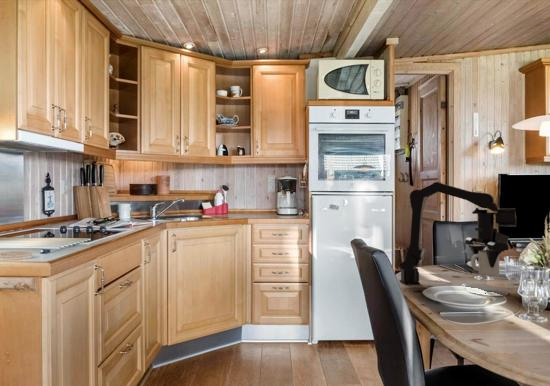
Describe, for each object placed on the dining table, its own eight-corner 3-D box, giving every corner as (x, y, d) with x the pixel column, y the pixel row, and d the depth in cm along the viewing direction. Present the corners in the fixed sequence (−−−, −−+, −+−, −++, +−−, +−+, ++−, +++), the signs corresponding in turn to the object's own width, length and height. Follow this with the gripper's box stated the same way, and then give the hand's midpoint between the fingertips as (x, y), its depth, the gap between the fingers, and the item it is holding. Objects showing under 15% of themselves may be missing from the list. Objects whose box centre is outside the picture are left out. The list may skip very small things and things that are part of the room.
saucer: (480, 298, 152) (480, 294, 152) (457, 288, 167) (457, 285, 167) (517, 296, 154) (517, 293, 154) (491, 286, 169) (491, 284, 169)
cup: (501, 276, 156) (501, 253, 156) (472, 275, 159) (472, 252, 159) (496, 273, 163) (496, 250, 163) (469, 272, 166) (469, 249, 166)
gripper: (522, 227, 152) (522, 269, 152) (489, 223, 170) (489, 260, 170) (494, 228, 150) (494, 270, 151) (464, 223, 169) (464, 261, 169)
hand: (485, 265), depth 160 cm, fingers closed on cup, 7 cm apart
